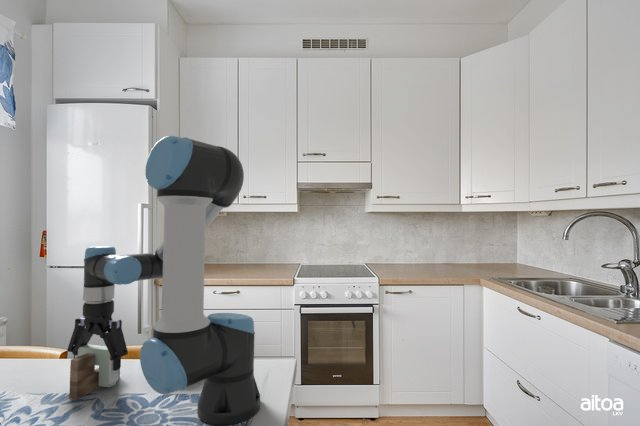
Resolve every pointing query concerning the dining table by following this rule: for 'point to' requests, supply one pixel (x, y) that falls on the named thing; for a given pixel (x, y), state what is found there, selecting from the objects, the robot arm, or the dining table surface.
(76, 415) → the dining table surface
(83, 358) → the wooden u-shaped stand
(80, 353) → the notched mint block
